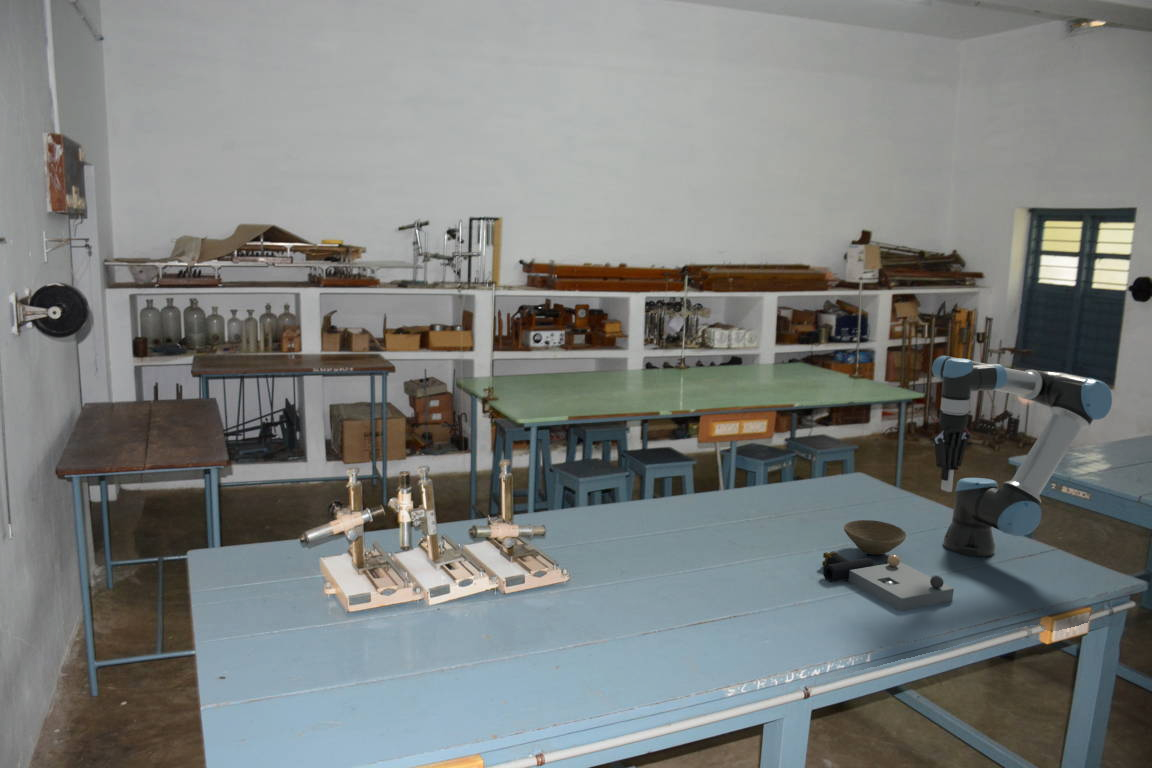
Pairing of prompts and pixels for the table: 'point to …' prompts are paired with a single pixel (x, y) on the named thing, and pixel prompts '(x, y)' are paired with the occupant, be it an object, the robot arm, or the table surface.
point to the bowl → (874, 536)
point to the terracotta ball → (893, 560)
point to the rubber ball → (936, 582)
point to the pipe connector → (841, 566)
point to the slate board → (900, 586)
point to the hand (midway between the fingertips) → (946, 490)
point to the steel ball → (889, 583)
